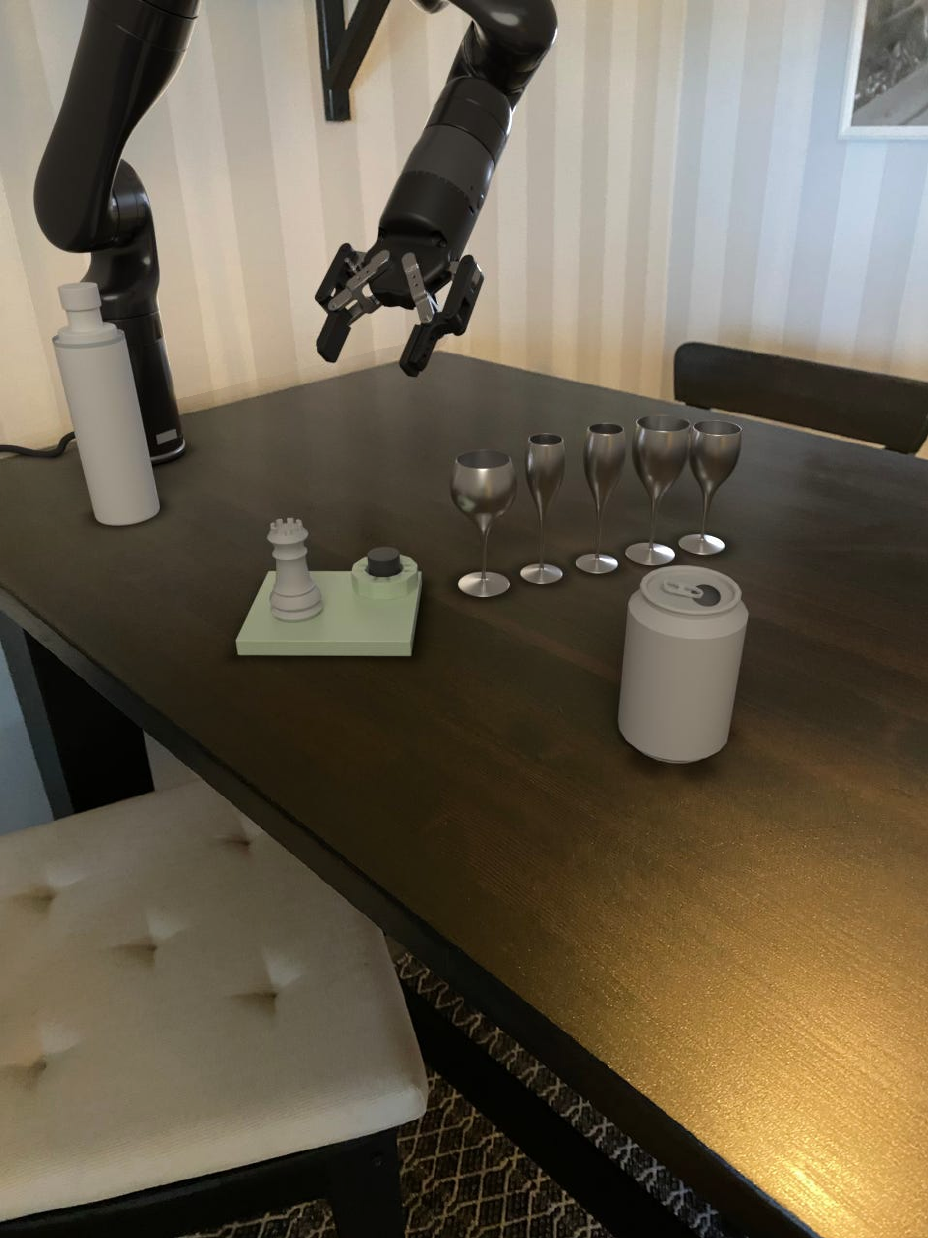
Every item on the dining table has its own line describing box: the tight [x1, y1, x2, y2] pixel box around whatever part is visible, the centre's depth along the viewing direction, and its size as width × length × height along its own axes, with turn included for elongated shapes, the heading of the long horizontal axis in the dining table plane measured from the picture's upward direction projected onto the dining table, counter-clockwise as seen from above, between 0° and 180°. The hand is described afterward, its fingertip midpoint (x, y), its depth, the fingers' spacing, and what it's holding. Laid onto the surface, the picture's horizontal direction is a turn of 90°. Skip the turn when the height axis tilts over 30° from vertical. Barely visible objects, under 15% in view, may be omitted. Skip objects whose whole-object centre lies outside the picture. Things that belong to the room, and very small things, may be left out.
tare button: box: [366, 546, 401, 577], centre depth 78 cm, size 3×3×2 cm
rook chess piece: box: [266, 517, 323, 623], centre depth 73 cm, size 4×4×8 cm
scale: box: [235, 554, 423, 657], centre depth 77 cm, size 14×12×3 cm
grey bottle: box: [51, 281, 161, 527], centre depth 91 cm, size 7×7×25 cm
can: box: [617, 564, 750, 764], centre depth 60 cm, size 8×8×12 cm
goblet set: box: [449, 414, 742, 598], centre depth 82 cm, size 28×6×13 cm, turn 109°
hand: (365, 364), depth 75 cm, fingers open, 8 cm apart
